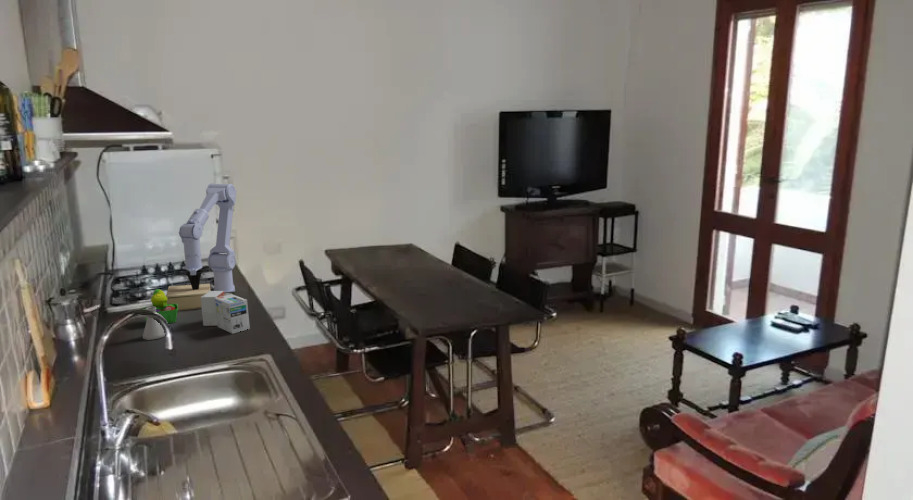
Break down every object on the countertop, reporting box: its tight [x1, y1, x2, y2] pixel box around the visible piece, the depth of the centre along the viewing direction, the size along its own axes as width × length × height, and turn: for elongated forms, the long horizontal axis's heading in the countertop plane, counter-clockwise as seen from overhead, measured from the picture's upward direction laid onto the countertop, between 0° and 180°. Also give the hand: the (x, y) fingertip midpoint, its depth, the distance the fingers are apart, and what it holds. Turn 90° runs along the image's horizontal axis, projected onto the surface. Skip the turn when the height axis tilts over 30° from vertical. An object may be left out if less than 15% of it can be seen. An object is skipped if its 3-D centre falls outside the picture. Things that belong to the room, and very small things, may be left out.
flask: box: [142, 306, 166, 341], centre depth 213 cm, size 7×7×10 cm
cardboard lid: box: [165, 283, 211, 298], centre depth 247 cm, size 14×15×1 cm
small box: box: [200, 290, 226, 327], centre depth 226 cm, size 8×6×10 cm
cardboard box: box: [167, 289, 212, 312], centre depth 247 cm, size 14×15×5 cm
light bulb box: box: [215, 293, 251, 334], centre depth 220 cm, size 11×7×11 cm, turn 47°
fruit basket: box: [142, 288, 178, 324], centre depth 227 cm, size 11×9×11 cm
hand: (195, 289), depth 247 cm, fingers closed, pressing on cardboard lid
